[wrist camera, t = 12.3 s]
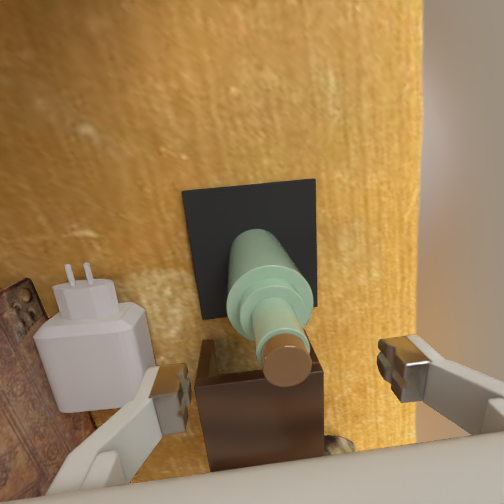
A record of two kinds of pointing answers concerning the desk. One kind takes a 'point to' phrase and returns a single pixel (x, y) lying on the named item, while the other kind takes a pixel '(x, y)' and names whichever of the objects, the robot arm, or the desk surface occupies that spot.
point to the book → (30, 402)
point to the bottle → (270, 305)
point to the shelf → (258, 415)
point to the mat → (243, 219)
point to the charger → (93, 346)
